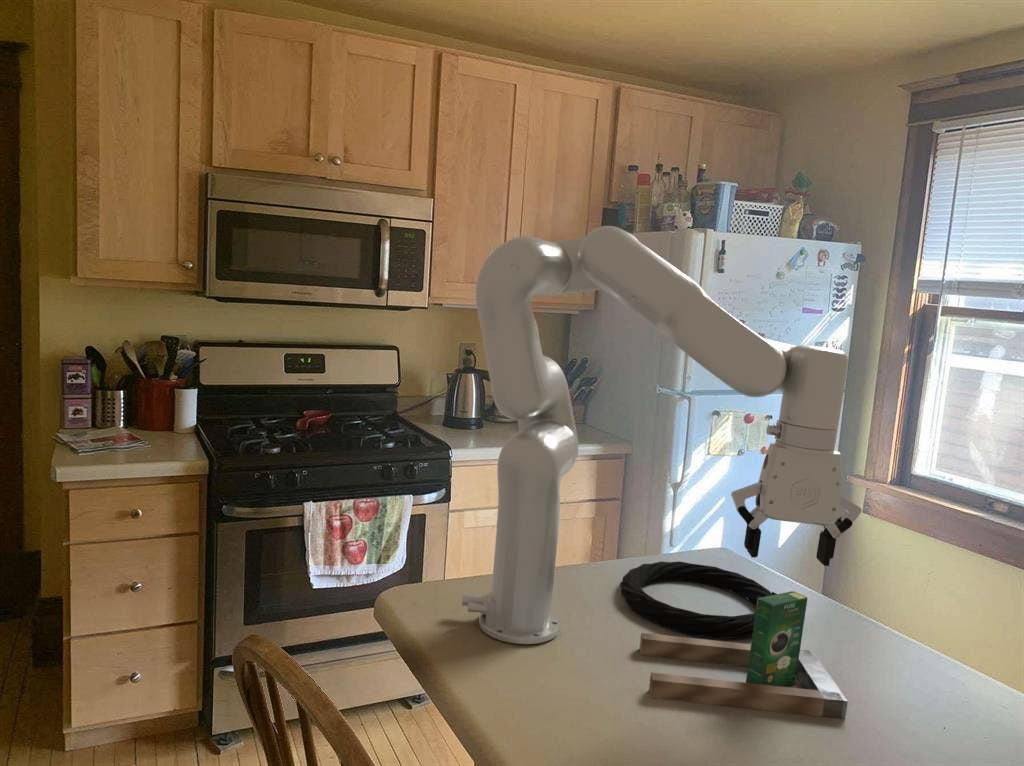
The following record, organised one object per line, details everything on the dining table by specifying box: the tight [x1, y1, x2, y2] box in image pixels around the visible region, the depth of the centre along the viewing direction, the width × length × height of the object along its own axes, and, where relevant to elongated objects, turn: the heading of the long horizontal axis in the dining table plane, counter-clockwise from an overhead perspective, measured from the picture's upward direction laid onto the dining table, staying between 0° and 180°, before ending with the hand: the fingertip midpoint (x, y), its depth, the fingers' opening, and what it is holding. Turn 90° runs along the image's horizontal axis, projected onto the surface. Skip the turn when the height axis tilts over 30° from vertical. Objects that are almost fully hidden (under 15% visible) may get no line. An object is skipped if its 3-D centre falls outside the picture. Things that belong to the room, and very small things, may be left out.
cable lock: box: [619, 561, 777, 639], centre depth 133 cm, size 28×4×30 cm
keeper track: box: [639, 632, 849, 720], centre depth 108 cm, size 26×14×2 cm, turn 87°
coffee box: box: [745, 590, 808, 687], centre depth 107 cm, size 8×3×13 cm, turn 123°
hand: (787, 558), depth 105 cm, fingers open, 9 cm apart
